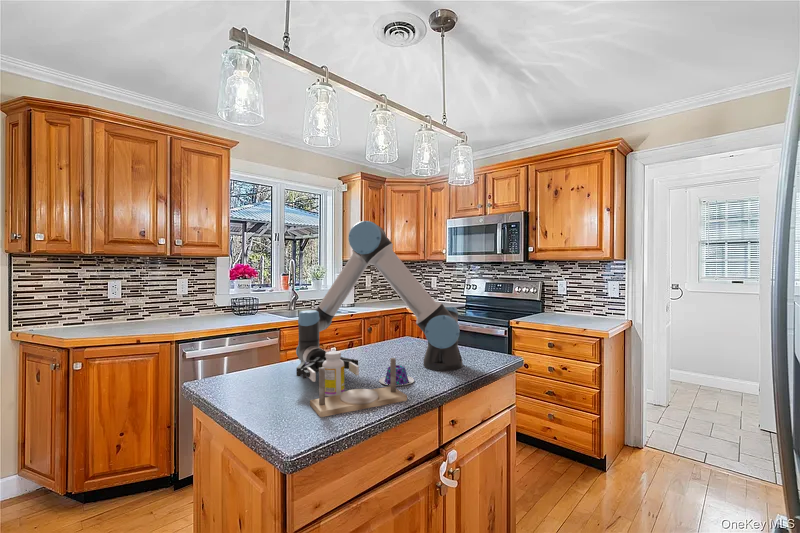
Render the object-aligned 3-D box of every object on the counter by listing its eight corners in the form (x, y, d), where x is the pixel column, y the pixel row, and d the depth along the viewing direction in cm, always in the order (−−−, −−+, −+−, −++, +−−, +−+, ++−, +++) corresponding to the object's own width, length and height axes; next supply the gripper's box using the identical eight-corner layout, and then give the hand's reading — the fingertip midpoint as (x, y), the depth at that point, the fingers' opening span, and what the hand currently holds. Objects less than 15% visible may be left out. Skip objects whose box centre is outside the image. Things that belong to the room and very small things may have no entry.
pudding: (419, 385, 131) (419, 369, 131) (385, 389, 127) (384, 373, 127) (407, 375, 142) (407, 361, 142) (374, 379, 138) (374, 364, 138)
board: (390, 390, 125) (390, 354, 125) (408, 401, 116) (407, 361, 115) (309, 404, 113) (309, 364, 113) (321, 418, 103) (320, 374, 103)
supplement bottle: (339, 389, 127) (339, 349, 126) (348, 395, 121) (347, 353, 121) (319, 393, 123) (319, 351, 123) (327, 399, 117) (327, 356, 117)
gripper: (350, 365, 144) (374, 380, 125) (279, 374, 132) (294, 392, 113) (350, 344, 144) (374, 356, 125) (279, 352, 132) (294, 366, 113)
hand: (336, 373), depth 119 cm, fingers open, 13 cm apart
